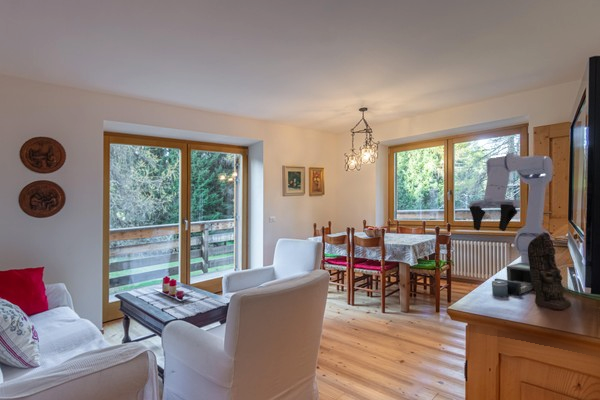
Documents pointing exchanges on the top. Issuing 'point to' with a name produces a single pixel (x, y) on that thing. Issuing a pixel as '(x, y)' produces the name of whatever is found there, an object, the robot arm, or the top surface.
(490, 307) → the top surface
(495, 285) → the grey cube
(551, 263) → the statue
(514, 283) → the tray
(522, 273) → the player housing
